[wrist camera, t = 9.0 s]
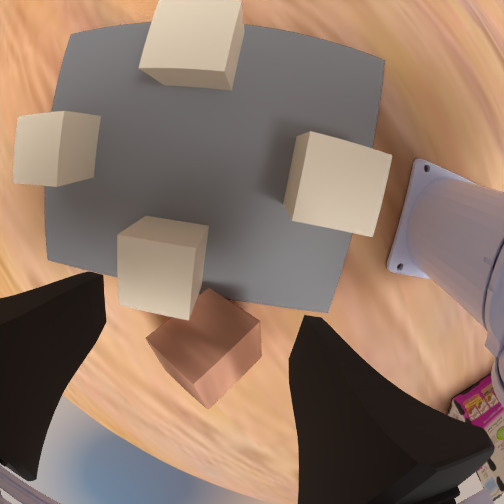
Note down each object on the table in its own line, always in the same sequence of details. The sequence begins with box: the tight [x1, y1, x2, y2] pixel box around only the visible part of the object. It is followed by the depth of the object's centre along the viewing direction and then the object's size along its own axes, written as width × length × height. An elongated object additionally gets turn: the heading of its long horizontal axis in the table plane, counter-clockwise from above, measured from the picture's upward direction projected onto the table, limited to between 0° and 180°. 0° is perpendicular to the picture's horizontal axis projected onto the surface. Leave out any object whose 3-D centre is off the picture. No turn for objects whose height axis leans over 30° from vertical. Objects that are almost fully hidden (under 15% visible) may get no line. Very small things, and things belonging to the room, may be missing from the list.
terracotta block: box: [146, 288, 262, 409], centre depth 16 cm, size 4×4×5 cm
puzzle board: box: [13, 0, 392, 320], centre depth 13 cm, size 21×17×5 cm
